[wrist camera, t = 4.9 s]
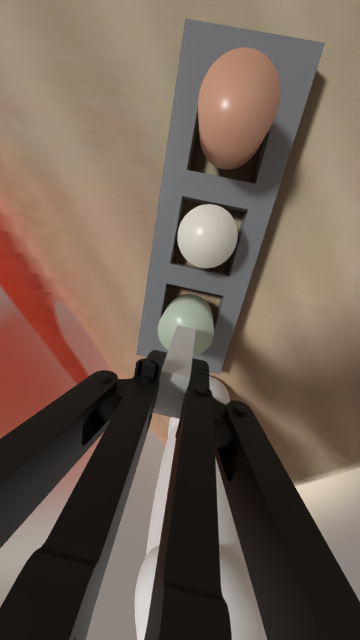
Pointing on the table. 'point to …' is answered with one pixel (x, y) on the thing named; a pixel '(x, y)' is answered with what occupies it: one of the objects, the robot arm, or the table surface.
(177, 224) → the panel
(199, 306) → the button sage
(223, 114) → the button terracotta
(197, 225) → the button ivory
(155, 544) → the water bottle
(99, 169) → the table surface
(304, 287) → the table surface
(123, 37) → the table surface
